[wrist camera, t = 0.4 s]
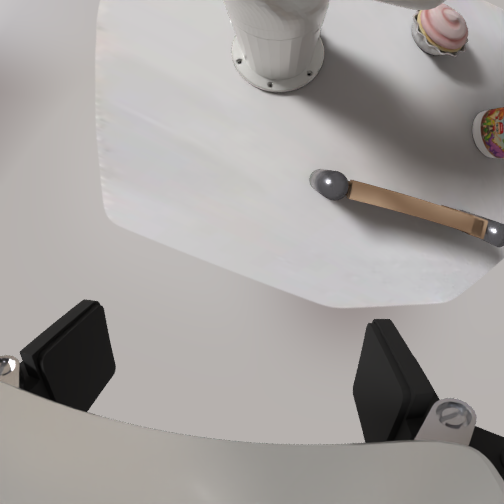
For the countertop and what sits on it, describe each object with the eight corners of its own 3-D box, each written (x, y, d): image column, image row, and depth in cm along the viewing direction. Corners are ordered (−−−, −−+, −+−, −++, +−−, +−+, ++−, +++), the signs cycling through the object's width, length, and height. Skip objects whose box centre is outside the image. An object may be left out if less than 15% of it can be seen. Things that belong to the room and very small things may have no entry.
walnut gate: (336, 175, 40) (352, 178, 31) (453, 209, 40) (488, 220, 31) (332, 192, 41) (347, 200, 32) (449, 224, 40) (483, 239, 31)
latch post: (455, 207, 41) (496, 221, 30) (469, 212, 40) (510, 227, 30) (451, 226, 41) (490, 244, 31) (464, 230, 41) (504, 249, 31)
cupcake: (391, 33, 34) (415, 7, 25) (418, 4, 32) (444, -22, 22) (437, 76, 35) (470, 60, 26) (461, 44, 33) (494, 26, 23)
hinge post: (311, 167, 41) (323, 168, 31) (333, 172, 41) (351, 174, 31) (307, 188, 42) (317, 196, 32) (328, 193, 42) (345, 203, 31)
